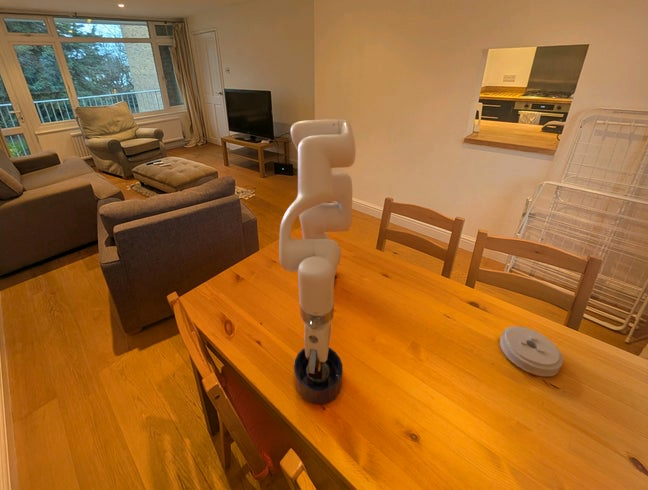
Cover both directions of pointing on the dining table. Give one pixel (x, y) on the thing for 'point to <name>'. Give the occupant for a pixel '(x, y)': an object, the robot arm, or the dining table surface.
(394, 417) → the dining table surface
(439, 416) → the dining table surface
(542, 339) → the lid
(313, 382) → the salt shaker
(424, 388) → the dining table surface
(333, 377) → the dark blue round container
